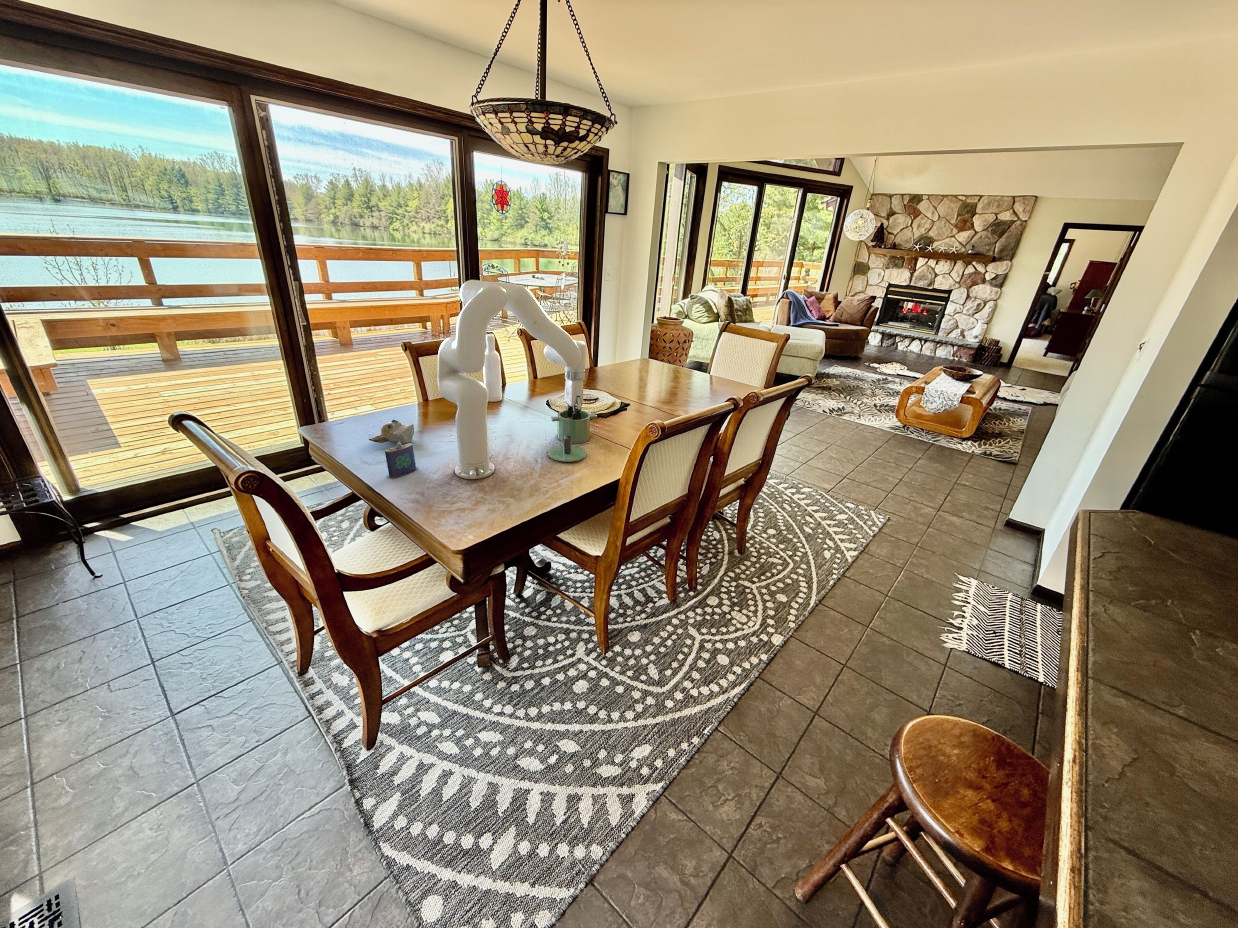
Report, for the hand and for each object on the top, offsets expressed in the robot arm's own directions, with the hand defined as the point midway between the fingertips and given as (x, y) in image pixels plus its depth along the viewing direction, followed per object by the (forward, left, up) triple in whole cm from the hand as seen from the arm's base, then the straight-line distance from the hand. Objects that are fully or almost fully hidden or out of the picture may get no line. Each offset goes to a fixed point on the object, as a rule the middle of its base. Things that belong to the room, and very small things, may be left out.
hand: (574, 419), depth 187 cm
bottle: (+53, +24, -8) cm, 59 cm away
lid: (-16, +7, -7) cm, 19 cm away
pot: (0, 0, -8) cm, 8 cm away
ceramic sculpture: (+10, +65, -8) cm, 66 cm away
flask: (-17, +62, -8) cm, 65 cm away
